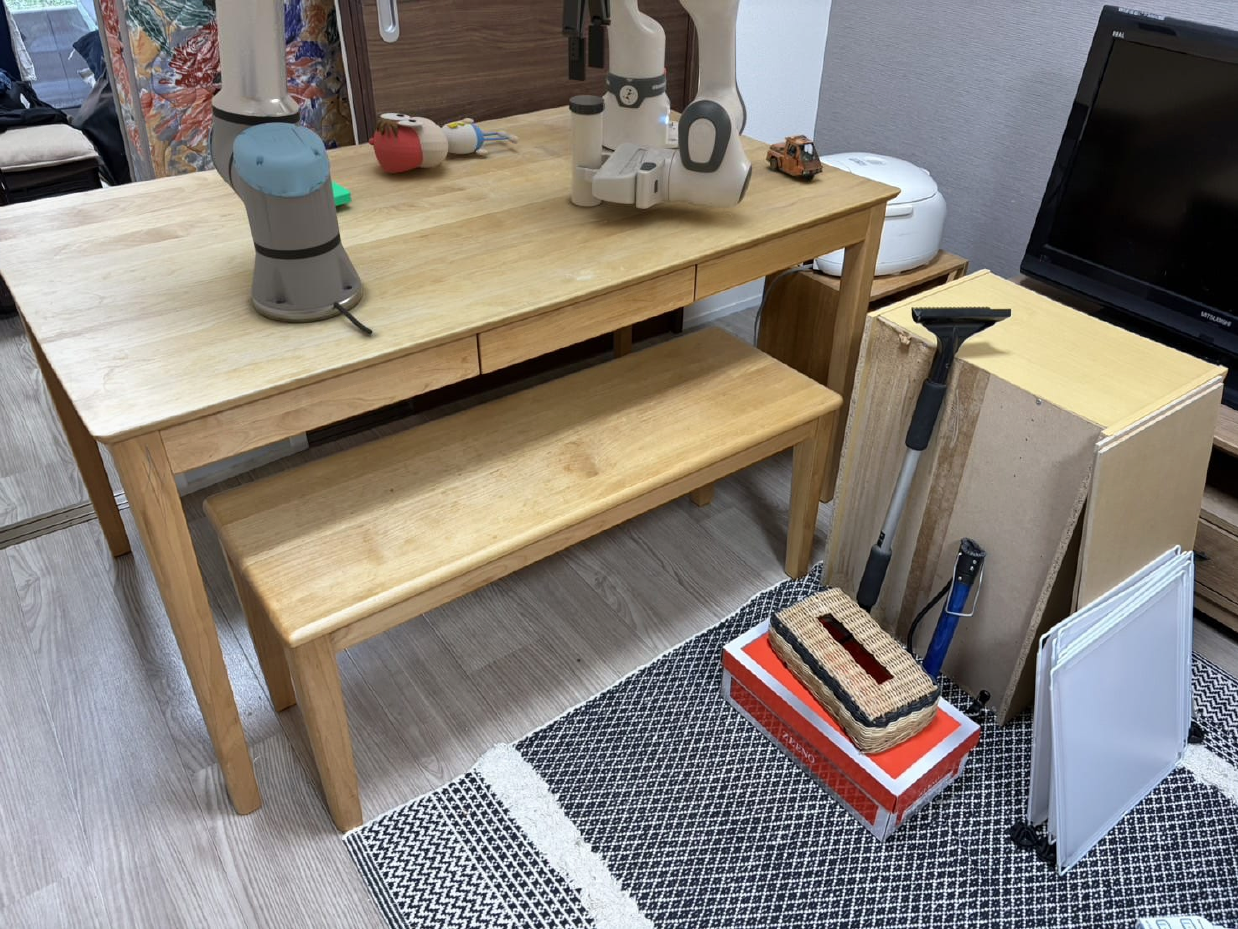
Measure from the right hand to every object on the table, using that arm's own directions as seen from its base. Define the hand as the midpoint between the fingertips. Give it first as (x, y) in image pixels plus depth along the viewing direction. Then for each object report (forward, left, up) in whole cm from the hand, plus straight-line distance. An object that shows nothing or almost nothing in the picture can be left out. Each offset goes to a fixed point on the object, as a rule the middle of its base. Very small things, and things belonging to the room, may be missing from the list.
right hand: (581, 165), depth 164 cm
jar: (0, +1, -6) cm, 6 cm away
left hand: (0, +1, +16) cm, 16 cm away
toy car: (-27, +35, -6) cm, 45 cm away
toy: (-12, -32, -6) cm, 35 cm away
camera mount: (+16, -44, -6) cm, 47 cm away
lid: (0, +1, +11) cm, 11 cm away
